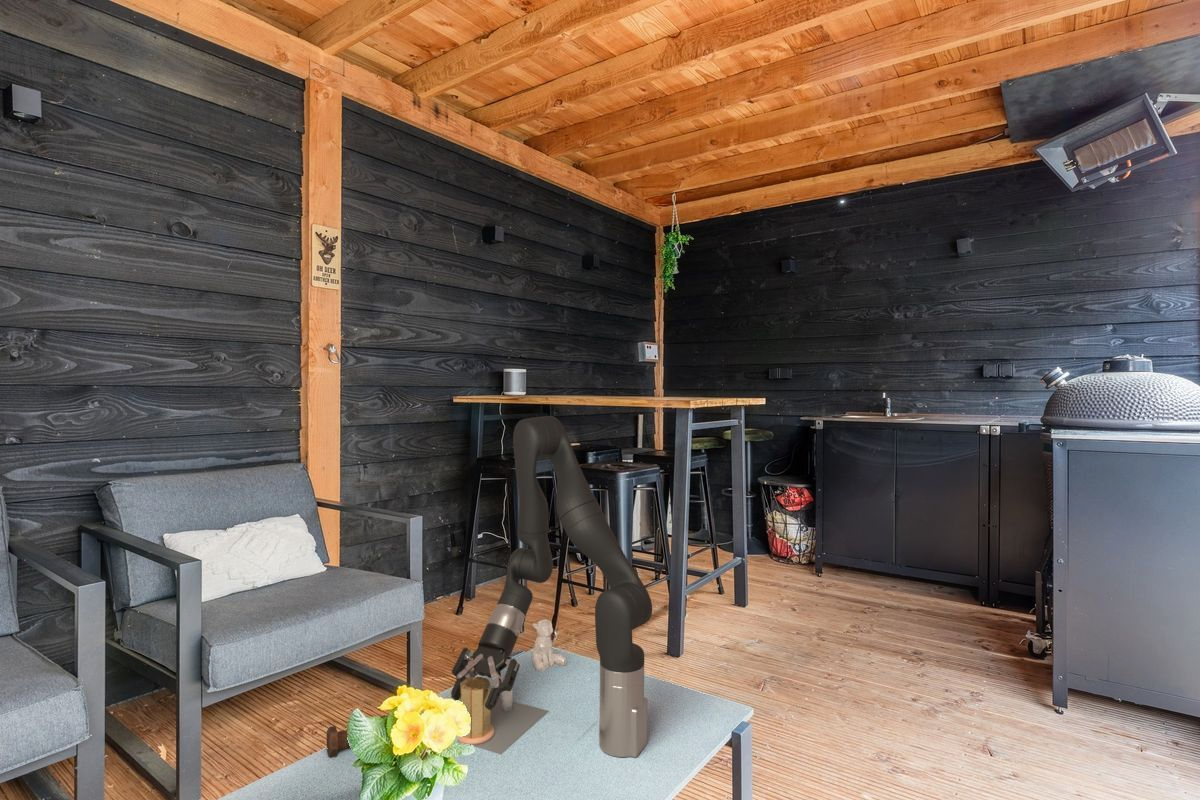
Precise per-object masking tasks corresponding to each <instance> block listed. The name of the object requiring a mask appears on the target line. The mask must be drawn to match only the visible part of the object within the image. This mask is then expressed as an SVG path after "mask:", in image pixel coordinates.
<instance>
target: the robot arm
mask: <svg viewBox="0 0 1200 800" xmlns="http://www.w3.org/2000/svg"><path fill="white" fill-rule="evenodd" d="M512 436H513V439H512V444H513V445H512V446H513V457H514V465H515V474H516V475H515V476H516V482H517V491H518V492H517V494H518V520H517V538H518V541H520V542H521V543H523V544H524V545H526V546H528V547H529V548H530V549H529V548H524V547H519V548H516V549H515V550H514V551H513V552H512V553H511V554H510V556H509V559H508V564H507V572H506V577H505V583H504V587H503V590H502V592H501V595H500V597H499V599H498V602H497V604H496V605H495V608H494V609H493V611H492V612H491V614H490V616H489V619H488V621H487V623H486V625H485V628H484V630H483V632H482V634H481V636H480V637H479V641H478V646H477V648H476V649H475V650H474V651H472V650H470V649H469V648H468V647H463V648H462V651H461V652H460V654H459V656H458V658H457V660H456V661H455V664H454V666H453V667H452V670H451V674H452V675H453V676H454V677H455V678H456V681H455V682H454V684H453V688H451V691H450V695H451V696H450V697H451V698H452V699H453V700H454V701H456V700H458V701H460V683H461V682H462V681H464V680H465V679H468V678H472V677H478V675H479V676H480V677H486V678H488V679H492V684H493V687H491V688H490V693H489V696H488V698H487V701H486V703H485V707H486V708H487V709H488V710H492V708H494V707H495V706H496V704H497V701H498V699H499V698H500V696H501V695H502V692H503V691H511V690H512V687H514V684H515V681H516V678H517V675H518V672H519V670H520V665H521V664H520V663H519V662H518V661H517V659H516V658H514V657H513V658H511V659H509V658H510V657H511V655H512V653H513V650H514V648H515V645H516V643H517V641H518V638H519V636H520V634H521V630H522V629H523V626H524V621H525V618H526V616H527V613H528V611H529V609H530V606H531V604H532V601H533V598H534V597H533V596H534V594H533V592H532V590H531V589H529V588H528V587H526V586H525V585H523V584H521V583H520V581H521V580H525V581H529V582H532V583H538V584H543V583H546V582H547V581H548V580H549V579H550V577H552V574H553V571H554V560H553V555H552V551H551V546H550V542H549V536H548V527H549V504H548V501H547V498H546V496H545V494H544V492H543V490H542V488H541V486H540V484H539V481H538V478H537V472H536V471H537V469H536V468H537V460H538V458H544V457H548V459H549V461H550V463H551V464H552V466H553V469H554V471H555V475H556V481H557V488H556V498H555V499H556V501H555V507H556V514H557V517H558V519H559V522H560V523H561V525H562V528H563V530H564V531H565V534H566V536H567V537H568V539H569V541H570V542H571V544H572V545H573V546H574V547H575V548H576V549H578V550H579V551H580V553H582V554H583V555H585V557H587V558H588V559H589V560H590V561H591V562H592V563H593V564H595V566H597V568H598V569H599V570H600V571H601V574H603V576H604V578H605V580H606V582H607V584H608V585H609V587H610V588H608V589H606V590H604V591H602V592H601V593H600V594H599V595H598V597H597V599H596V602H595V607H594V624H595V625H594V626H595V645H596V649H597V653H598V656H599V715H598V716H599V718H598V719H599V725H598V727H599V732H598V740H599V741H598V743H599V745H598V746H599V748H600V750H601V751H602V752H604V753H605V754H607V755H609V756H612V757H616V758H627V757H628V758H630V757H632V758H637V757H638V756H639V754H640V753H641V752H642V750H643V749H644V748H645V746H646V745H647V744H648V698H647V697H645V651H644V649H643V648H642V647H641V646H640V645H638V644H636V643H633V630H634V629H637V628H639V627H641V626H643V625H644V624H646V623H648V622H649V620H650V619H651V617H652V614H653V604H652V599H651V596H650V593H649V592H648V590H647V588H646V586H645V585H644V583H643V581H642V580H641V579H640V577H639V576H638V573H637V572H636V570H635V569H634V568H633V566H632V564H631V563H630V561H629V560H628V558H627V556H626V555H625V553H624V551H623V549H622V548H621V546H620V543H619V542H618V539H617V538H616V536H615V534H614V533H613V530H612V528H611V527H610V525H609V522H608V521H607V518H606V516H605V514H604V512H603V510H602V508H601V506H600V503H599V502H598V500H597V498H596V497H595V495H594V493H593V491H592V489H591V487H590V485H589V483H588V481H587V479H586V477H585V475H584V473H583V470H582V468H581V466H580V464H579V462H578V459H577V457H576V454H575V451H574V449H573V446H572V443H571V441H570V439H569V436H568V433H567V431H566V428H565V427H564V425H563V423H561V421H560V420H559V419H558V418H557V417H555V416H552V415H545V416H535V417H530V418H529V417H528V418H524V419H520V420H519V421H518V422H517V423H516V424H515V427H514V430H513V435H512ZM504 669H506V672H505V675H504V678H503V674H502V671H503V670H504Z"/></svg>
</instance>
